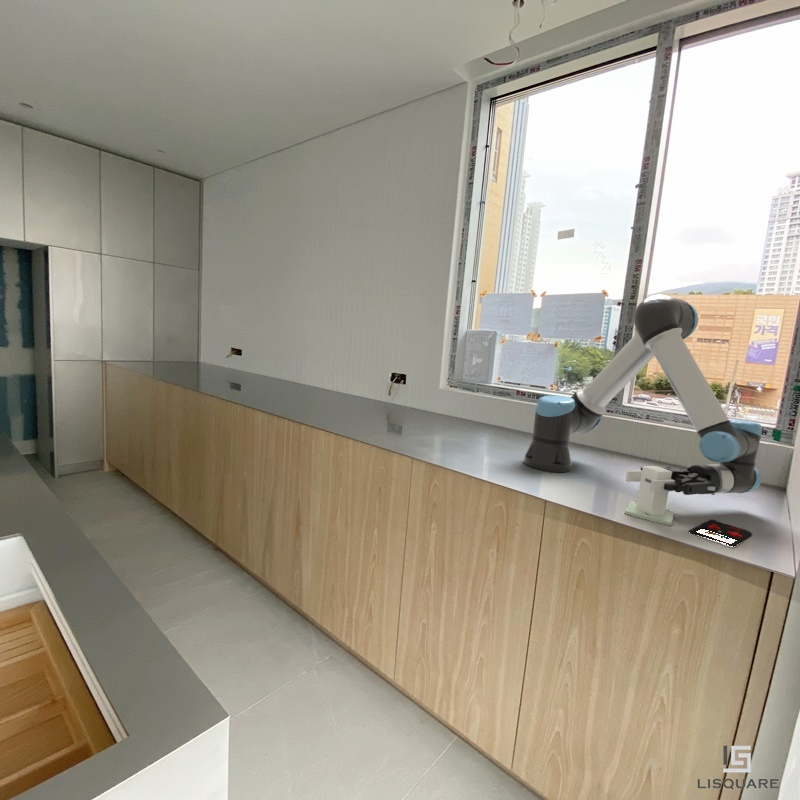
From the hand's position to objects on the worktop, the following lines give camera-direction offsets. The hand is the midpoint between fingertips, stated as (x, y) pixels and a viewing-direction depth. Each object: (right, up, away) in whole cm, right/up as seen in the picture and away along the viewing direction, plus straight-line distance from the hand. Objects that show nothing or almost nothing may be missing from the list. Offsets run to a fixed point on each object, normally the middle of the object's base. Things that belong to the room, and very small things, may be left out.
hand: (639, 480), depth 110 cm
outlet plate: (+4, -9, +3) cm, 10 cm away
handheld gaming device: (+16, -12, -6) cm, 21 cm away
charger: (+4, -8, +3) cm, 9 cm away
